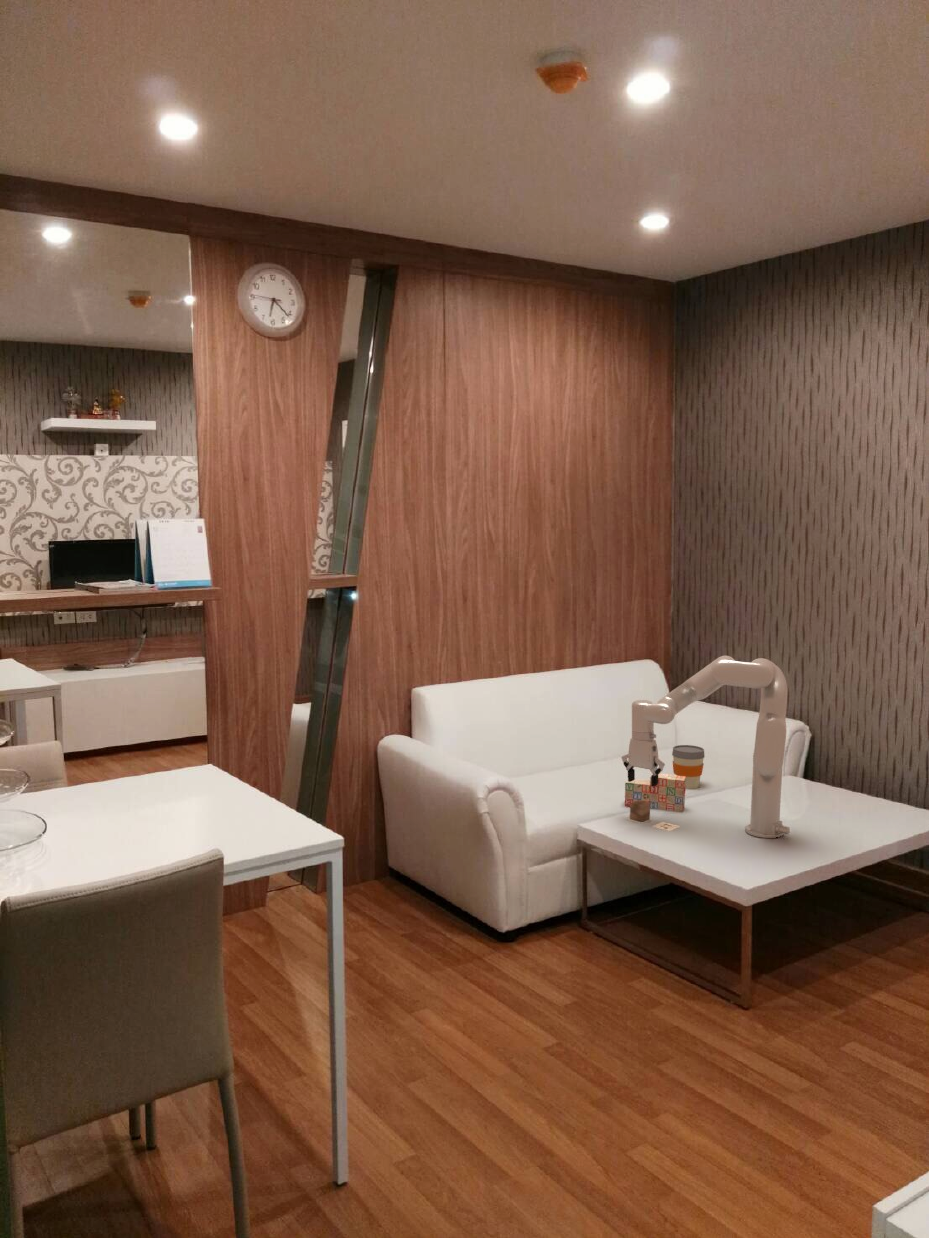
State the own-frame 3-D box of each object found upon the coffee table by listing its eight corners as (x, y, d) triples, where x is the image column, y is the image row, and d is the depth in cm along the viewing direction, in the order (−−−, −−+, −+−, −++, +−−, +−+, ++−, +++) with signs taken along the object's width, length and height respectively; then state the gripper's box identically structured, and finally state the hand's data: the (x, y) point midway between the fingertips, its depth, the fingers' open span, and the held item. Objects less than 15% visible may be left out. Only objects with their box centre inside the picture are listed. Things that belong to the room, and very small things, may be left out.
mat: (690, 825, 353) (690, 824, 353) (665, 835, 341) (666, 834, 341) (640, 811, 367) (640, 810, 367) (614, 821, 355) (614, 820, 355)
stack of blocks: (624, 806, 373) (625, 774, 372) (626, 802, 379) (628, 770, 378) (682, 813, 366) (684, 780, 365) (684, 808, 372) (686, 775, 371)
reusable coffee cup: (685, 791, 393) (687, 754, 391) (664, 783, 404) (665, 746, 402) (710, 787, 399) (711, 750, 397) (688, 779, 410) (690, 743, 408)
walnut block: (649, 819, 358) (650, 802, 357) (641, 822, 354) (642, 805, 353) (637, 816, 361) (638, 799, 360) (629, 819, 358) (630, 802, 357)
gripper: (669, 737, 351) (669, 785, 353) (628, 730, 363) (628, 777, 365) (657, 741, 345) (658, 789, 347) (616, 734, 357) (616, 781, 359)
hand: (642, 783), depth 356 cm, fingers open, 9 cm apart
